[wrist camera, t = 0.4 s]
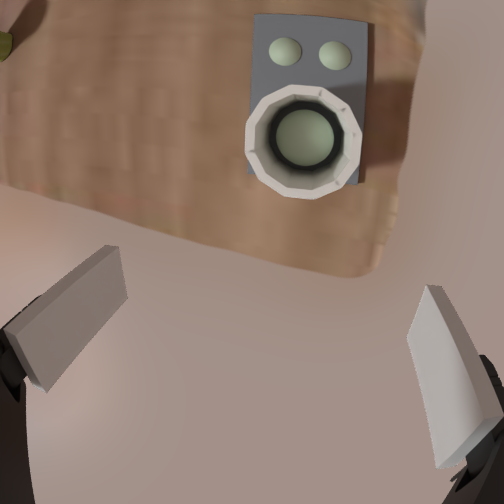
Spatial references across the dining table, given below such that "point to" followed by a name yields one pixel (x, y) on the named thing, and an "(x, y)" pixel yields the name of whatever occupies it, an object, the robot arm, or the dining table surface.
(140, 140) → the dining table surface
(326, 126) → the sage ball
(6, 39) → the plant pot
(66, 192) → the dining table surface
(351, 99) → the tube stand
